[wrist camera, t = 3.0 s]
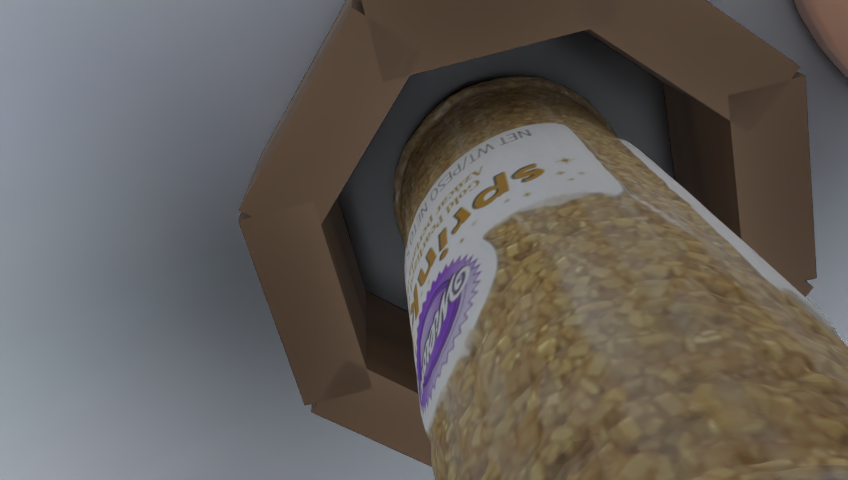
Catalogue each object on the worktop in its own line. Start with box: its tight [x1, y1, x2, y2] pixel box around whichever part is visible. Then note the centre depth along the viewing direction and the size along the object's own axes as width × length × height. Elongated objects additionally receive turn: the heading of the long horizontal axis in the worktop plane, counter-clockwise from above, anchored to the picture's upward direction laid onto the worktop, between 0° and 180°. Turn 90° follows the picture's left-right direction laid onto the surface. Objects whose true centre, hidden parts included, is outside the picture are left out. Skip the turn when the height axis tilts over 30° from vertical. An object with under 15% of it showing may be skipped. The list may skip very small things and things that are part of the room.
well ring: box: [238, 0, 817, 467], centre depth 14 cm, size 9×9×3 cm
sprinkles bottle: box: [393, 76, 848, 480], centre depth 10 cm, size 5×5×14 cm
